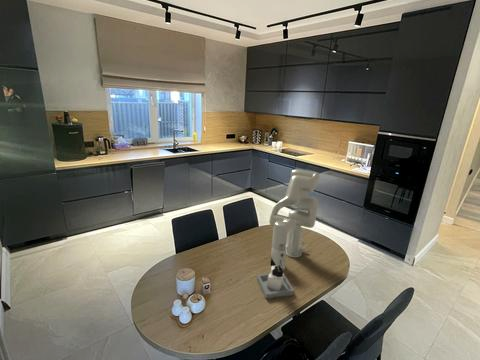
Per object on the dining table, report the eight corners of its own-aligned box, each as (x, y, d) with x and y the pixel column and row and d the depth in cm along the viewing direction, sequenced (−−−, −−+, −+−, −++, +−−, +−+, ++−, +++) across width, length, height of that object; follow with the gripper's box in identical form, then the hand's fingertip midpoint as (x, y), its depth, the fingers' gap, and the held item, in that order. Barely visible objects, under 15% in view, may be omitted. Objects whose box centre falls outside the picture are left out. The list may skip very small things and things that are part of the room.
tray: (282, 275, 154) (282, 271, 153) (293, 294, 139) (294, 290, 138) (256, 279, 150) (257, 274, 149) (265, 299, 135) (266, 294, 134)
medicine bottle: (282, 284, 146) (285, 266, 143) (279, 291, 140) (281, 273, 136) (271, 279, 149) (272, 262, 145) (266, 287, 143) (268, 269, 139)
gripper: (292, 252, 129) (289, 280, 134) (279, 234, 145) (276, 260, 150) (278, 253, 127) (275, 282, 133) (267, 236, 143) (264, 262, 149)
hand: (276, 270), depth 141 cm, fingers open, 9 cm apart
